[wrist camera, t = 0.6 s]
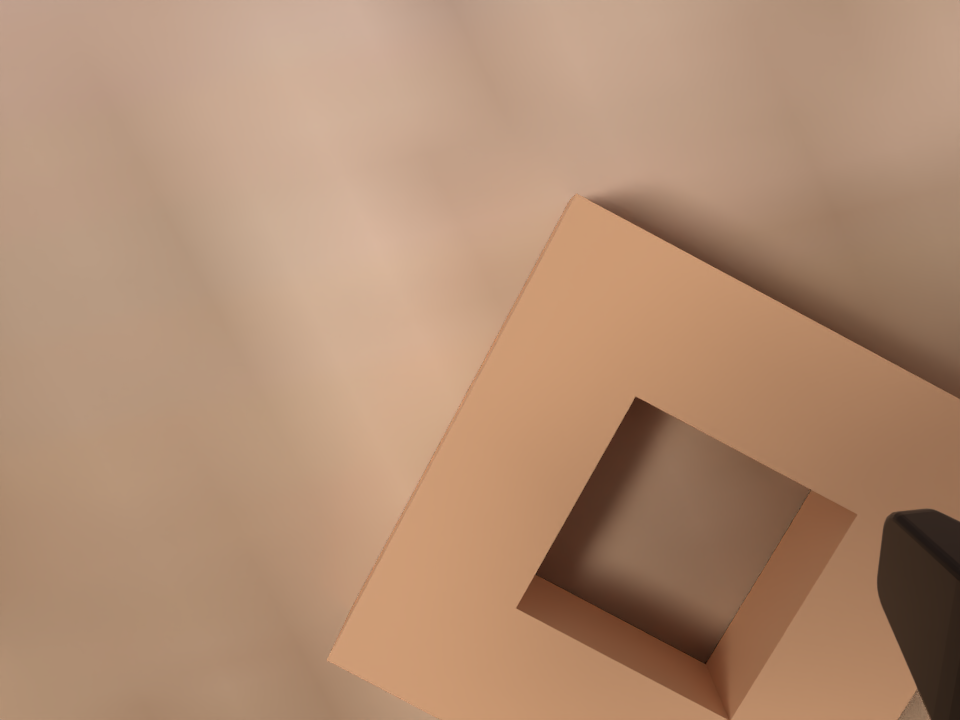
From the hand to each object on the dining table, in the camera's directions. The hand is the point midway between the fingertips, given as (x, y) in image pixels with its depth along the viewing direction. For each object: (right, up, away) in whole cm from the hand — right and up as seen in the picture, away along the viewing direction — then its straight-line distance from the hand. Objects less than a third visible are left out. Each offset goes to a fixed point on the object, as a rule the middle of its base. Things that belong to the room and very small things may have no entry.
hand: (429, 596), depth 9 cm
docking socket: (+6, -2, +16) cm, 17 cm away
